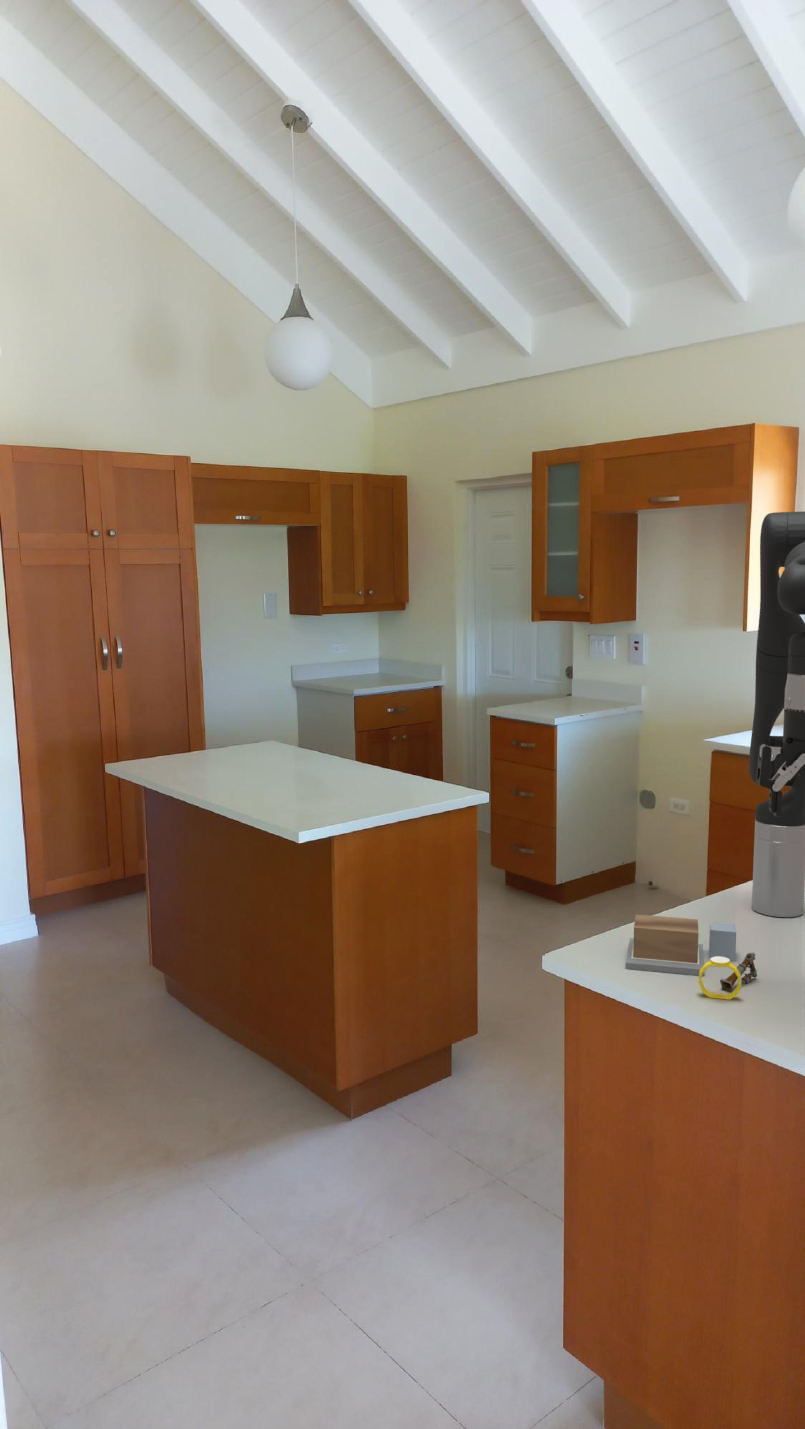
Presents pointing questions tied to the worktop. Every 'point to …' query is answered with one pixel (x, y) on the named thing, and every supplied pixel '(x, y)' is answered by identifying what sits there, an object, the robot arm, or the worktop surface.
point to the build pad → (664, 963)
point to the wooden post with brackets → (741, 968)
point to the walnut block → (666, 938)
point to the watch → (720, 962)
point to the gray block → (722, 940)
